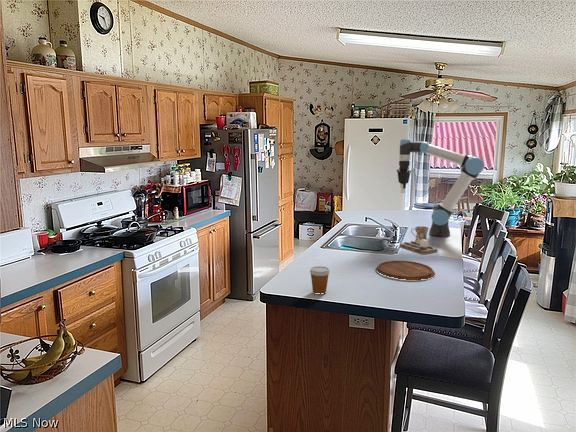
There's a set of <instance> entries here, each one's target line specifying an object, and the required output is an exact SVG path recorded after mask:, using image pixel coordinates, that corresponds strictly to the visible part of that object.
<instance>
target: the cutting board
mask: <svg viewBox="0 0 576 432" xmlns="http://www.w3.org/2000/svg"><path fill="white" fill-rule="evenodd" d="M376 270H377V271H378V272H379V273H381V274H383V275H386V276H389V277H394V278H398V279H406V280H421V279H428V278H431V277H433V276H434V275H435V276H436V274H435V271H434V269H433V268H432V267H430V266H429V265H426V264H423V263H421V262H420V263H419V262H415V261H409V260H389V261H384V262H381V263H379V264H378V265H377V266H376V267H375V271H376ZM435 276H434V277H435ZM434 277H433V278H434ZM431 279H432V278H431Z"/></svg>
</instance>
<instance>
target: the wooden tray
mask: <svg viewBox="0 0 576 432" xmlns="http://www.w3.org/2000/svg"><path fill="white" fill-rule="evenodd" d="M400 246H401V247H400ZM399 247H400V248H403V247H404V248H403V249H407V250H410V251H413V252H416V253H419V254H422V255H427V254H431V253H437V252H438V248H436V247H434V246H431V245H428V248H425V247H421V246H420V243H418V242H416V241H415V240H410V241H404V242H402V243H399Z"/></svg>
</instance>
